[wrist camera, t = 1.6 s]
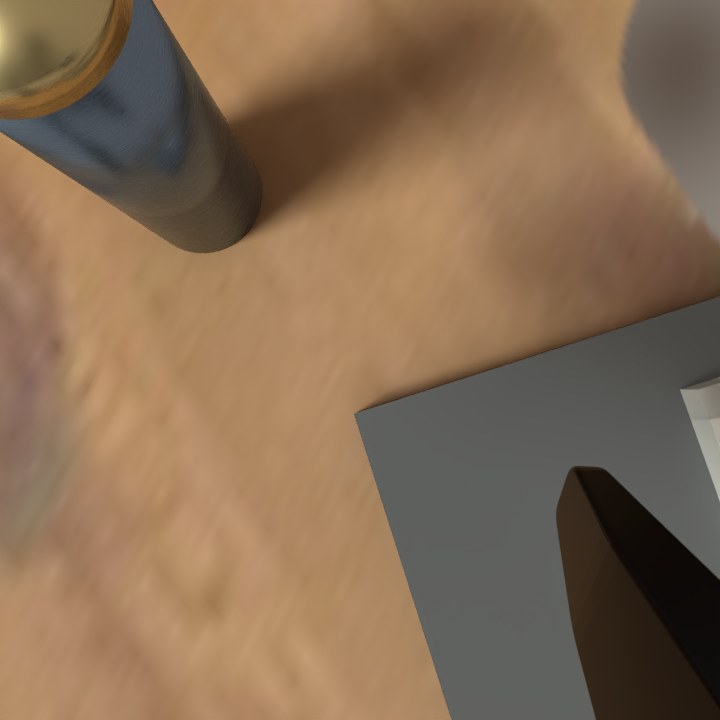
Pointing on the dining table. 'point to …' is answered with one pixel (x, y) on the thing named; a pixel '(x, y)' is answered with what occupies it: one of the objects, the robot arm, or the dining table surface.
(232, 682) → the dining table surface
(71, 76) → the cell
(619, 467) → the tester board
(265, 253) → the dining table surface
